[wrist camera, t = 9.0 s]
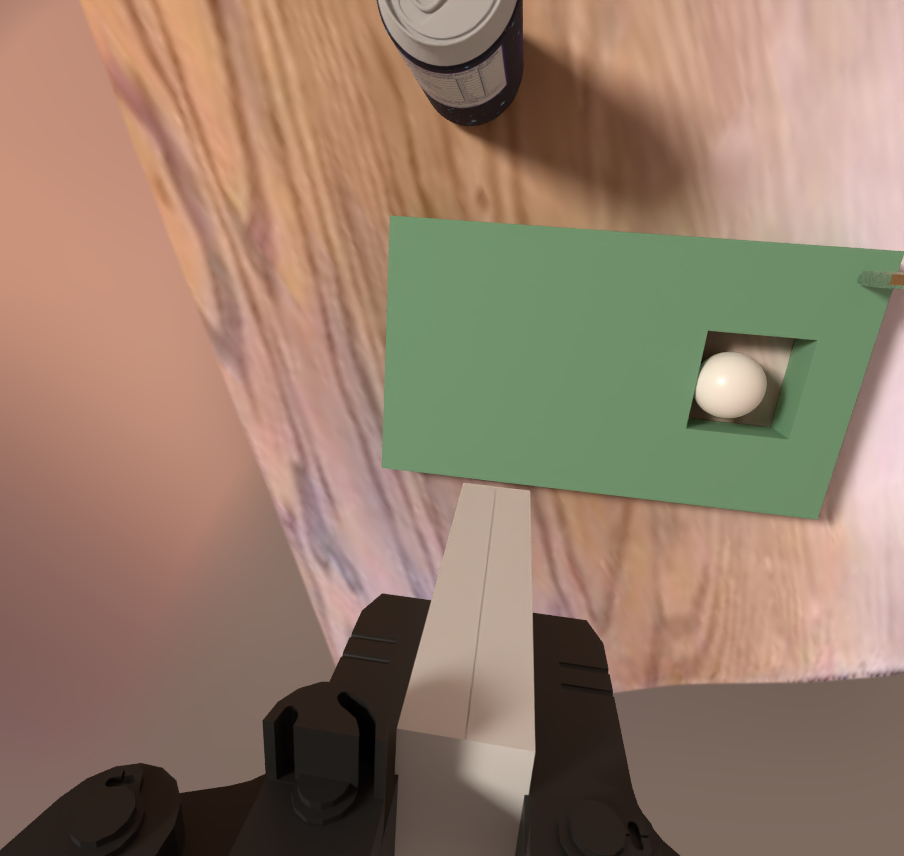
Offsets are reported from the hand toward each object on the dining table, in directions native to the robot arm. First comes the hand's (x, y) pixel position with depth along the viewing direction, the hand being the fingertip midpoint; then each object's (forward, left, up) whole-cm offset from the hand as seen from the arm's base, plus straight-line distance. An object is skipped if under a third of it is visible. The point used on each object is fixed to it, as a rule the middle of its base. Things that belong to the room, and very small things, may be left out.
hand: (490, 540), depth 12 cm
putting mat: (0, +6, -24) cm, 25 cm away
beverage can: (-16, -4, -25) cm, 29 cm away
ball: (0, +11, -23) cm, 26 cm away
